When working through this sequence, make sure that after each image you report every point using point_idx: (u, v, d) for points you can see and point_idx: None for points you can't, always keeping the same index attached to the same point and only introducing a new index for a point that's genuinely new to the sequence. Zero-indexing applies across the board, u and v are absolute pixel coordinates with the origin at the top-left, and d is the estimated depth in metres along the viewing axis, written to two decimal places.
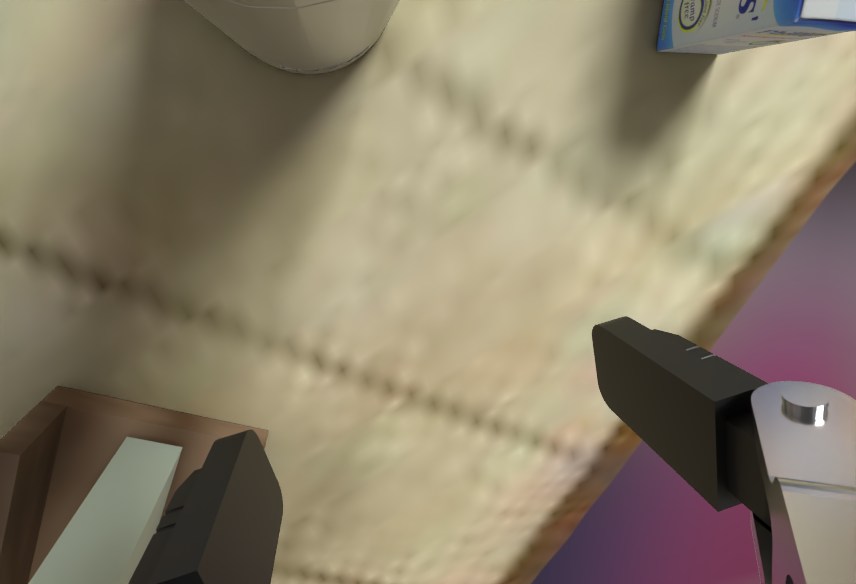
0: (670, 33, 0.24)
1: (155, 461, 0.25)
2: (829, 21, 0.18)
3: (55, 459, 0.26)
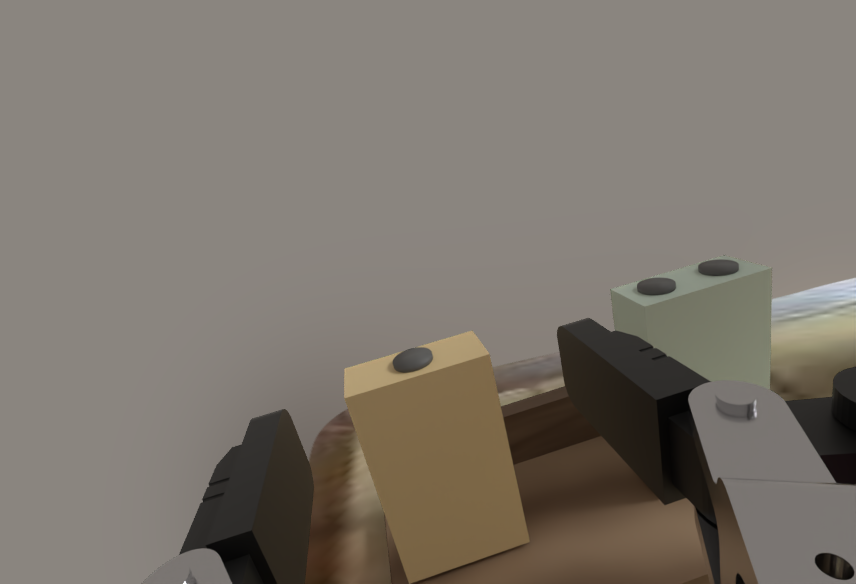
0: None
1: None
2: None
3: None
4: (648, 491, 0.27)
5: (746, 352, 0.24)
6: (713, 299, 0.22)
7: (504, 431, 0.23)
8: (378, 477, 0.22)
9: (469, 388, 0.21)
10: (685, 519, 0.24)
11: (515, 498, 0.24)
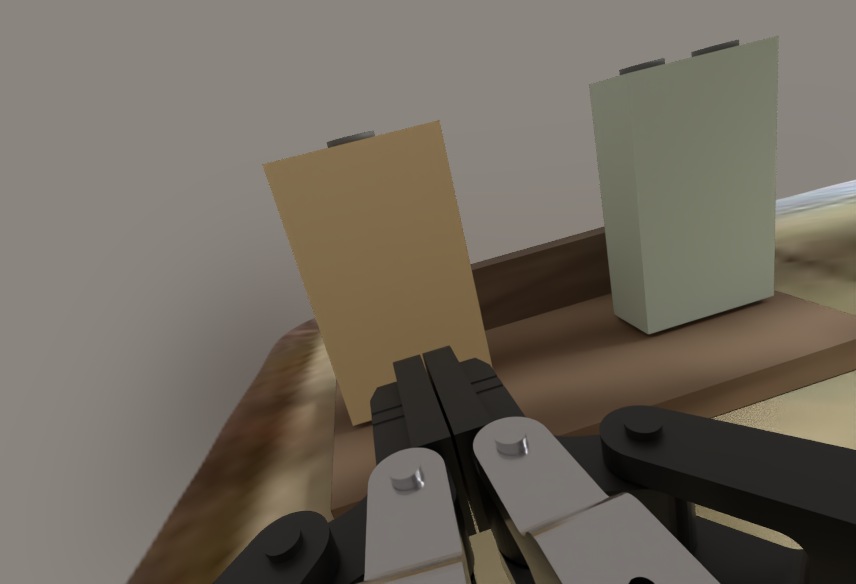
0: None
1: None
2: None
3: None
4: (634, 334, 0.23)
5: (748, 149, 0.20)
6: (709, 72, 0.19)
7: (461, 229, 0.19)
8: (309, 278, 0.18)
9: (416, 165, 0.18)
10: (676, 351, 0.21)
11: (476, 322, 0.20)
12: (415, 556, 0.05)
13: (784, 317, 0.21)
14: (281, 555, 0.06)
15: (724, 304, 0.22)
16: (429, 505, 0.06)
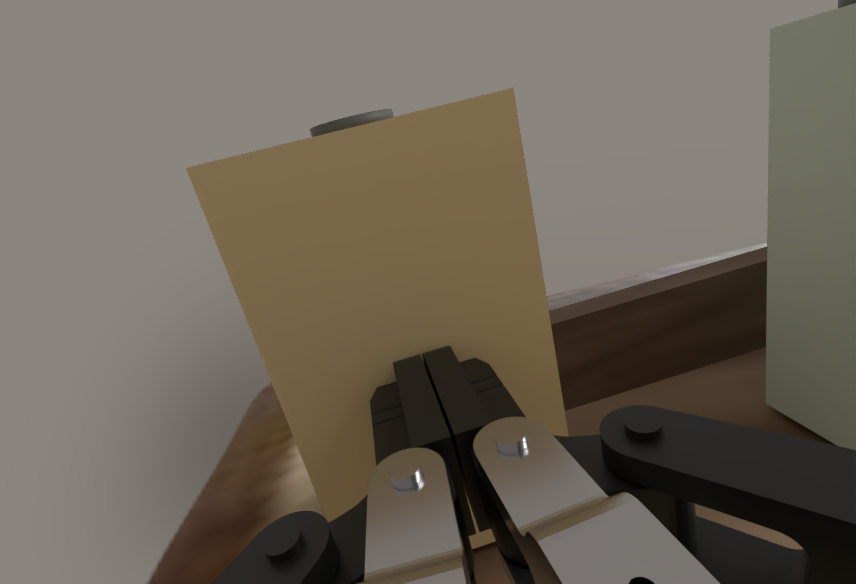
0: None
1: None
2: None
3: None
4: None
5: None
6: None
7: (540, 280, 0.11)
8: (280, 366, 0.11)
9: (470, 170, 0.10)
10: None
11: (557, 425, 0.12)
12: (415, 556, 0.05)
13: None
14: (281, 555, 0.06)
15: None
16: (429, 505, 0.06)
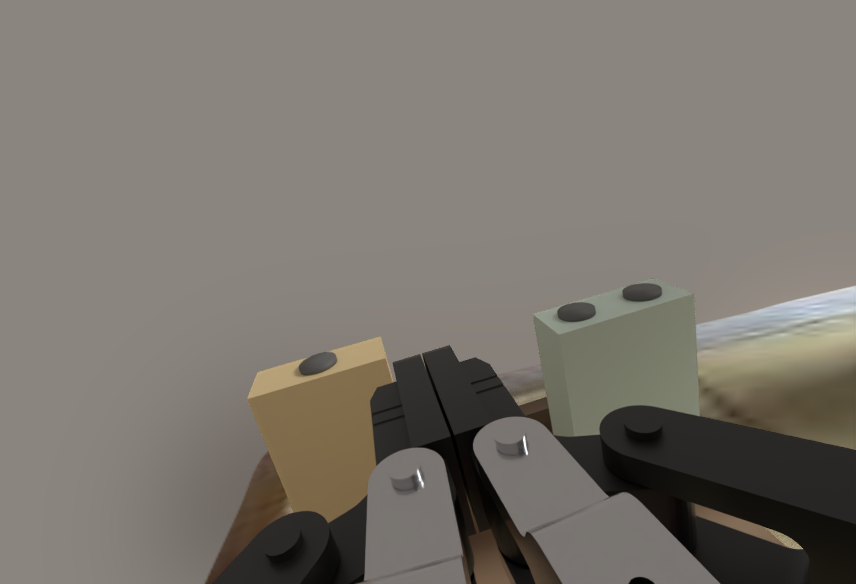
0: None
1: None
2: None
3: None
4: None
5: (672, 381, 0.23)
6: (633, 326, 0.21)
7: None
8: (284, 474, 0.23)
9: (368, 390, 0.23)
10: None
11: None
12: (415, 556, 0.05)
13: None
14: (281, 555, 0.06)
15: None
16: (429, 505, 0.06)
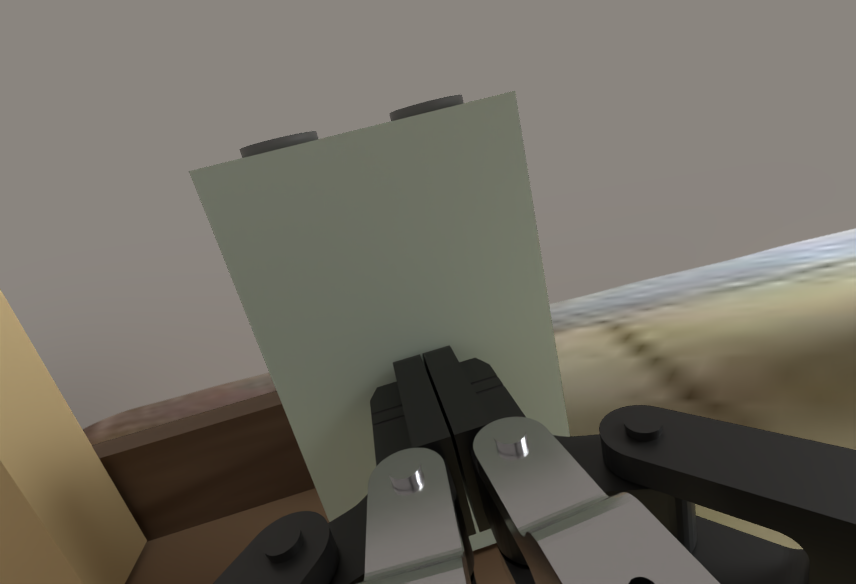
0: None
1: None
2: None
3: None
4: None
5: (489, 295, 0.11)
6: (376, 163, 0.10)
7: None
8: None
9: None
10: None
11: (45, 544, 0.13)
12: (415, 556, 0.05)
13: None
14: (281, 555, 0.06)
15: (492, 534, 0.13)
16: (429, 505, 0.06)
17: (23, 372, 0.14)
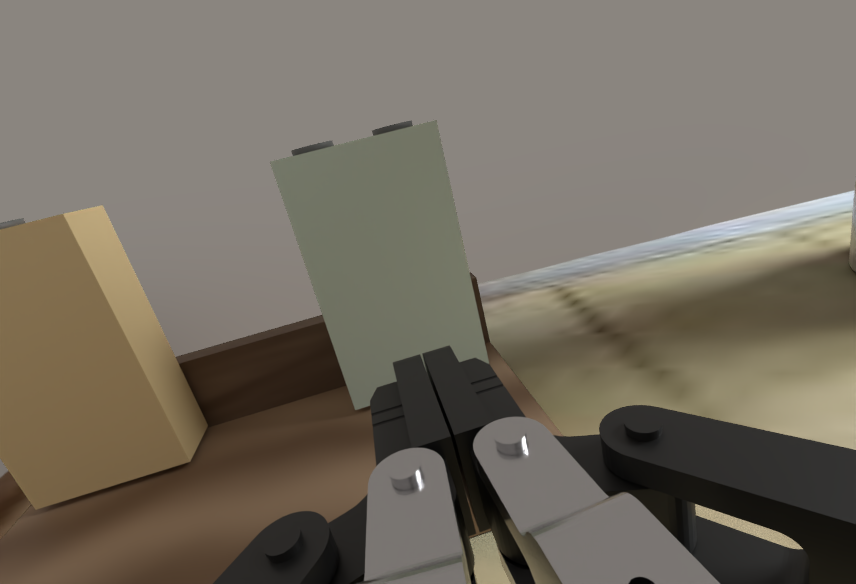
0: None
1: None
2: None
3: None
4: (353, 443, 0.20)
5: (427, 230, 0.20)
6: (364, 157, 0.19)
7: (114, 318, 0.19)
8: None
9: (47, 258, 0.18)
10: (368, 476, 0.18)
11: (154, 405, 0.20)
12: (415, 556, 0.05)
13: None
14: (281, 555, 0.06)
15: None
16: (429, 505, 0.06)
17: (136, 296, 0.21)
